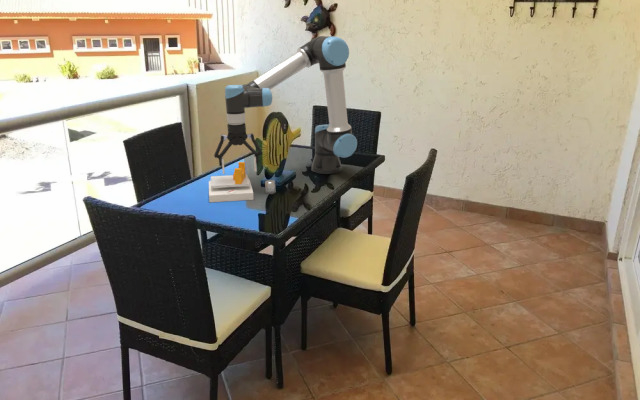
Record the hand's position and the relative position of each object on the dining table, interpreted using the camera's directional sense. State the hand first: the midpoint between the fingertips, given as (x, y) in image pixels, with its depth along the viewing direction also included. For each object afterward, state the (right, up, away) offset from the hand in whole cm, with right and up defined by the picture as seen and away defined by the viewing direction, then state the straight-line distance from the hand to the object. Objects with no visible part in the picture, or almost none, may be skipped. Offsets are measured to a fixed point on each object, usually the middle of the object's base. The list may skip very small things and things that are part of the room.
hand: (239, 171), depth 213 cm
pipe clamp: (-1, -4, 0) cm, 4 cm away
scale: (-4, -9, 0) cm, 10 cm away
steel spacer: (+13, -9, +2) cm, 16 cm away
